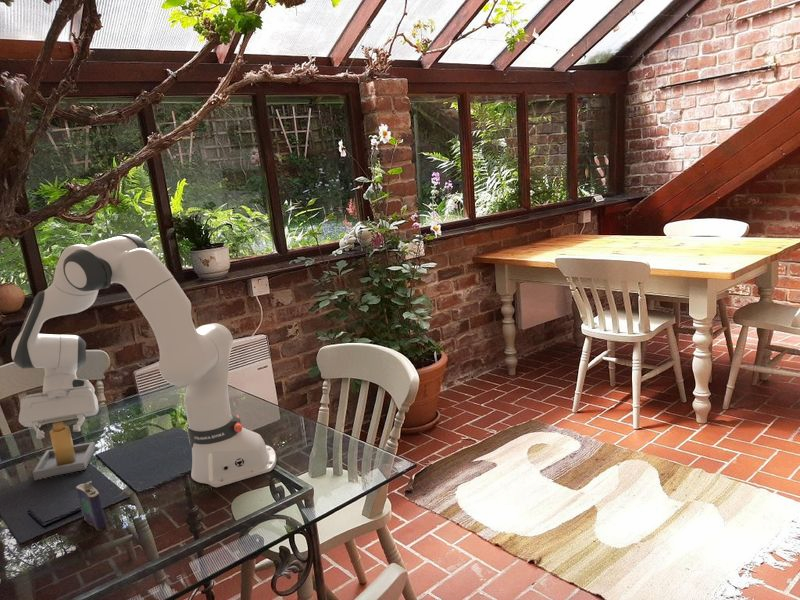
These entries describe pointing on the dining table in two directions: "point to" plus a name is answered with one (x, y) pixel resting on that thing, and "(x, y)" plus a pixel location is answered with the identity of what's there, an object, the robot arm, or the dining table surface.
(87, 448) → the gray tray
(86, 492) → the flask
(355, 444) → the dining table surface
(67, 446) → the amber bottle
